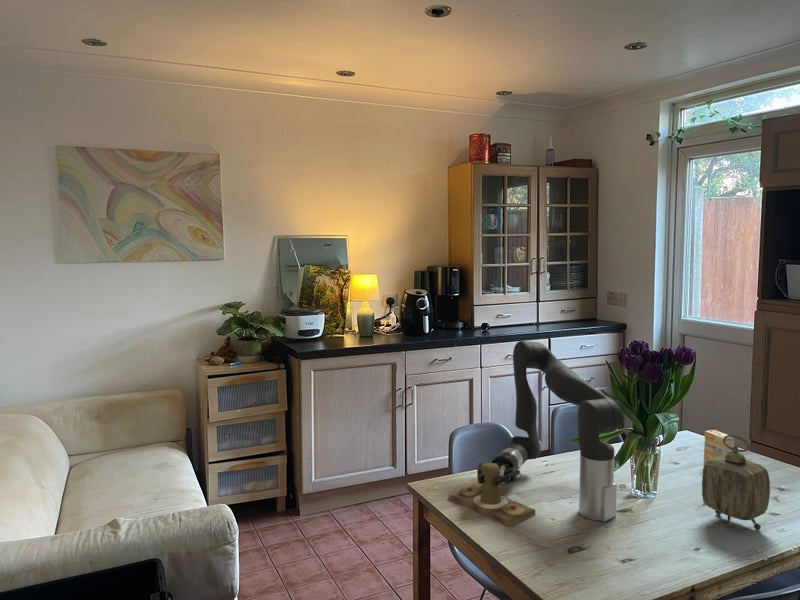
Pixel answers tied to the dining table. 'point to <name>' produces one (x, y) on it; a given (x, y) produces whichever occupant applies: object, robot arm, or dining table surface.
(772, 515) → the dining table surface
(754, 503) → the tabletop clock
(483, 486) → the cork
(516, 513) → the board
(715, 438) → the supplement box
